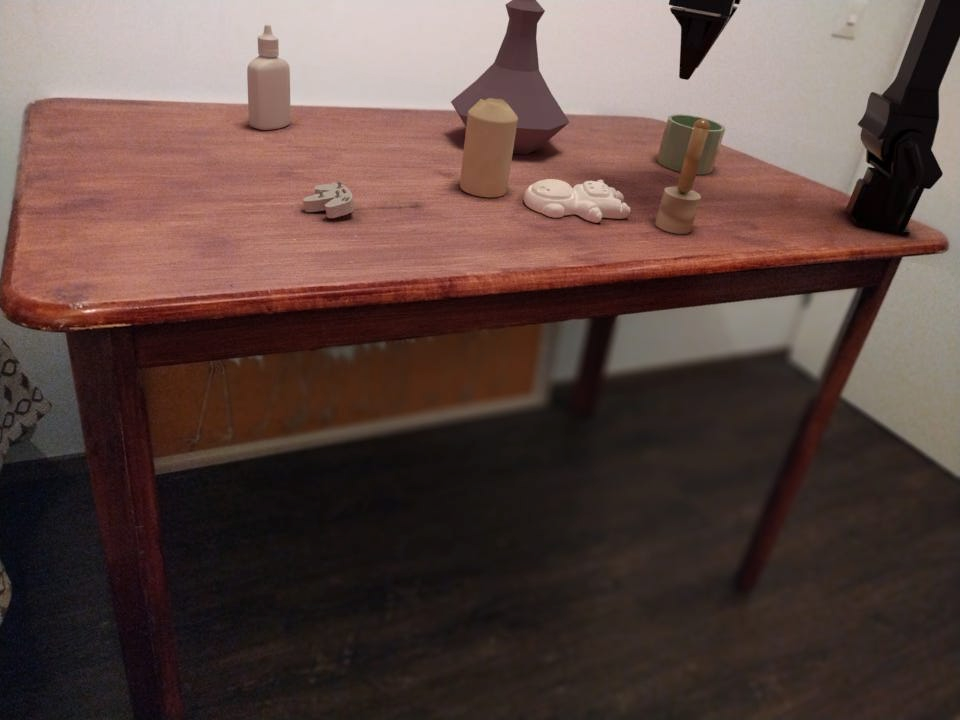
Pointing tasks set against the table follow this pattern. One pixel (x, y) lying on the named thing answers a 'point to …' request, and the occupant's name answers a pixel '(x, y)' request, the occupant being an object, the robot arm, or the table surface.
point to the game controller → (331, 200)
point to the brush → (684, 187)
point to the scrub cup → (678, 142)
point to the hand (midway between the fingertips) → (688, 72)
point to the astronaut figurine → (576, 200)
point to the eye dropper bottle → (268, 85)
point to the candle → (488, 148)
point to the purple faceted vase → (518, 82)
